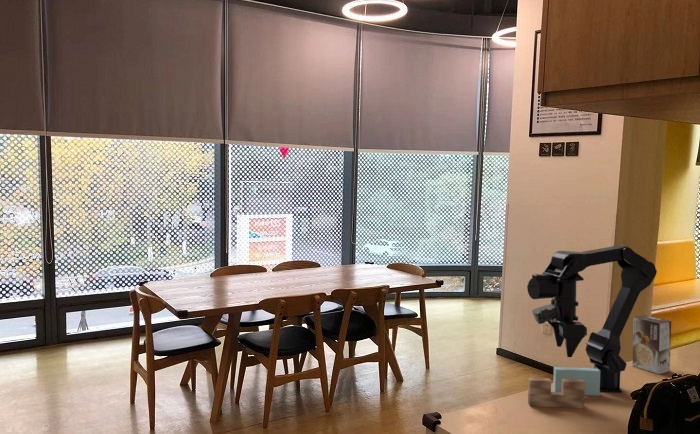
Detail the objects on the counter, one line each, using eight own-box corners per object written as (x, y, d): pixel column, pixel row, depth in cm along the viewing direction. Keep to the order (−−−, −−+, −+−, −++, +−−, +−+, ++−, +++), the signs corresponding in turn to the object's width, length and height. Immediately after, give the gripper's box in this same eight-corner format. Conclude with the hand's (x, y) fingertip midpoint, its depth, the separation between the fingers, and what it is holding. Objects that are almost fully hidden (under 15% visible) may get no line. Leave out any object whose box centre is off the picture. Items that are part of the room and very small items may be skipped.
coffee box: (671, 371, 169) (673, 320, 168) (658, 374, 166) (660, 323, 165) (643, 362, 177) (645, 314, 176) (630, 365, 174) (632, 316, 173)
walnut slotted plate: (581, 405, 144) (582, 379, 144) (584, 408, 142) (585, 382, 142) (527, 402, 145) (528, 377, 145) (529, 406, 143) (530, 380, 143)
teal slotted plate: (597, 392, 152) (597, 368, 152) (599, 395, 150) (600, 371, 150) (553, 391, 153) (553, 367, 153) (555, 393, 151) (555, 369, 151)
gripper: (527, 289, 160) (526, 341, 161) (544, 304, 141) (543, 362, 143) (565, 289, 159) (564, 341, 160) (588, 304, 141) (587, 363, 142)
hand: (564, 351), depth 151 cm, fingers open, 9 cm apart
